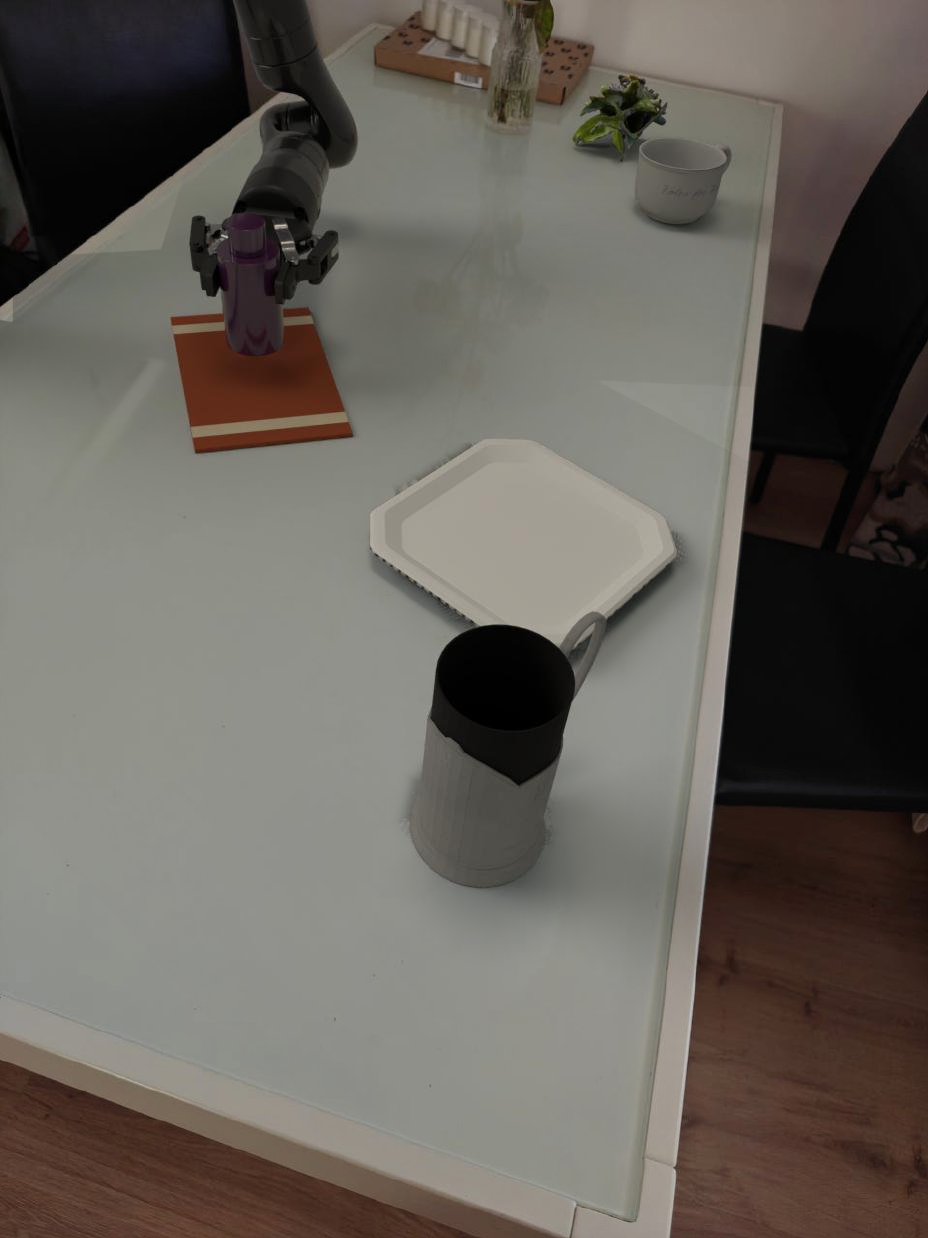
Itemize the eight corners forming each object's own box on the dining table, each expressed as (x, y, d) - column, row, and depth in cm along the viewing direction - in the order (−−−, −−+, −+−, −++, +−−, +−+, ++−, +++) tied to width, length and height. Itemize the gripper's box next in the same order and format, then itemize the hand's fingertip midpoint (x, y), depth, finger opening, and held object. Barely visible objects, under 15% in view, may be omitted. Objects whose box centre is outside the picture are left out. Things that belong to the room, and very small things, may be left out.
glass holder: (381, 825, 63) (389, 674, 52) (522, 702, 71) (555, 548, 60) (484, 915, 59) (516, 773, 49) (621, 775, 67) (675, 626, 56)
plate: (342, 547, 80) (342, 527, 78) (503, 442, 92) (506, 422, 90) (542, 689, 72) (547, 669, 70) (692, 553, 83) (699, 534, 82)
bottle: (237, 361, 90) (225, 241, 82) (217, 331, 93) (204, 211, 85) (293, 349, 92) (287, 230, 84) (272, 320, 95) (264, 202, 87)
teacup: (655, 237, 123) (670, 172, 117) (611, 199, 129) (624, 135, 123) (746, 225, 127) (765, 162, 121) (700, 188, 134) (716, 127, 128)
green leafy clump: (612, 177, 147) (671, 106, 142) (627, 195, 138) (690, 121, 133) (556, 125, 142) (615, 50, 137) (568, 140, 133) (631, 61, 128)
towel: (171, 320, 100) (170, 316, 100) (308, 310, 104) (308, 306, 104) (195, 453, 87) (194, 449, 86) (352, 436, 90) (352, 432, 90)
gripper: (203, 156, 95) (155, 240, 83) (353, 173, 95) (325, 259, 84) (211, 232, 100) (167, 320, 89) (353, 247, 101) (327, 338, 89)
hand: (244, 290), depth 86 cm, fingers closed on bottle, 5 cm apart
